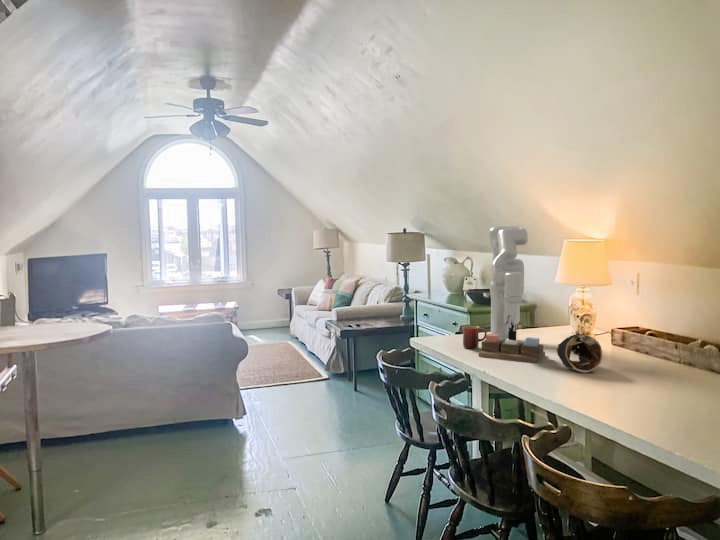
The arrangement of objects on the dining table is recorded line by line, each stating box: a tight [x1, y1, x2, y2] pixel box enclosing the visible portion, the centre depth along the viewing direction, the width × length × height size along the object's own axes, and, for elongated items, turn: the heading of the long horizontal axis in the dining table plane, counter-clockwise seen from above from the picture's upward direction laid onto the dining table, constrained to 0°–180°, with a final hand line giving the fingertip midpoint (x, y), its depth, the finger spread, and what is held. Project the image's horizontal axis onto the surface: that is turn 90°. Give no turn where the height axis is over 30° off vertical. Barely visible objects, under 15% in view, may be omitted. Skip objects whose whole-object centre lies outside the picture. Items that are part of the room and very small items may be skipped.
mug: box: [461, 325, 487, 350], centre depth 269 cm, size 12×9×10 cm
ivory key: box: [504, 338, 520, 345], centre depth 251 cm, size 5×5×4 cm
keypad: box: [478, 339, 546, 364], centre depth 251 cm, size 16×26×6 cm, turn 59°
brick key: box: [485, 333, 500, 343], centre depth 255 cm, size 5×5×4 cm
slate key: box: [524, 336, 540, 347], centre depth 246 cm, size 5×5×4 cm
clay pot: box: [556, 333, 603, 373], centre depth 233 cm, size 15×15×25 cm
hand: (512, 339), depth 250 cm, fingers closed
